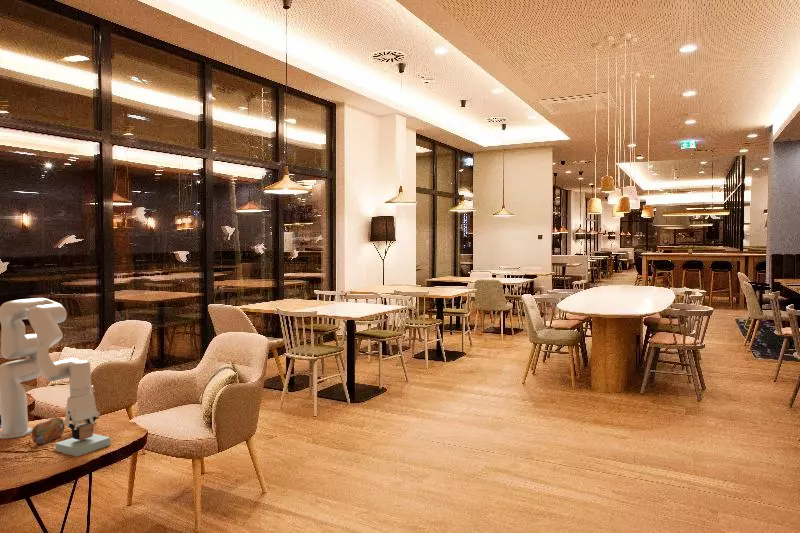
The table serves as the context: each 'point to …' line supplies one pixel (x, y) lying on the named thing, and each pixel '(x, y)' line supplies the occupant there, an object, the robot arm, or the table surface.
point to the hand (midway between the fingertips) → (82, 436)
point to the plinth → (82, 445)
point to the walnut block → (85, 430)
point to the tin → (47, 430)
